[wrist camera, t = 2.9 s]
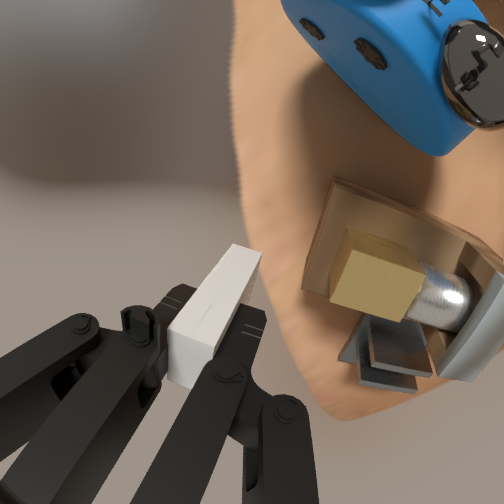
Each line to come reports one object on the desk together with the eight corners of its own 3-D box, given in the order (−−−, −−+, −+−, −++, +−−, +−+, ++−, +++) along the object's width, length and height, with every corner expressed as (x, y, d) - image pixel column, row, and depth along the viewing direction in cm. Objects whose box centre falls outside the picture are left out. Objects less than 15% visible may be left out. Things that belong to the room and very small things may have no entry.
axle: (392, 291, 19) (399, 329, 16) (417, 249, 16) (431, 285, 13) (476, 318, 17) (487, 351, 14) (500, 285, 15) (517, 318, 12)
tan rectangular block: (329, 270, 19) (329, 302, 16) (347, 225, 17) (352, 249, 14) (389, 289, 18) (399, 322, 15) (409, 248, 17) (426, 275, 13)
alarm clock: (446, 113, 16) (572, 112, 3) (400, 152, 19) (510, 192, 5) (338, 2, 14) (341, -115, 1) (289, 39, 17) (234, -71, 4)
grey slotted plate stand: (370, 300, 25) (377, 340, 19) (437, 320, 24) (453, 358, 18) (339, 354, 28) (337, 394, 23) (402, 368, 27) (408, 406, 22)
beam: (305, 260, 25) (290, 342, 15) (333, 176, 21) (342, 213, 11) (487, 319, 22) (521, 386, 12) (519, 261, 18) (571, 317, 8)
